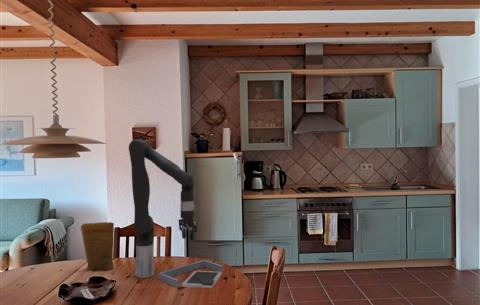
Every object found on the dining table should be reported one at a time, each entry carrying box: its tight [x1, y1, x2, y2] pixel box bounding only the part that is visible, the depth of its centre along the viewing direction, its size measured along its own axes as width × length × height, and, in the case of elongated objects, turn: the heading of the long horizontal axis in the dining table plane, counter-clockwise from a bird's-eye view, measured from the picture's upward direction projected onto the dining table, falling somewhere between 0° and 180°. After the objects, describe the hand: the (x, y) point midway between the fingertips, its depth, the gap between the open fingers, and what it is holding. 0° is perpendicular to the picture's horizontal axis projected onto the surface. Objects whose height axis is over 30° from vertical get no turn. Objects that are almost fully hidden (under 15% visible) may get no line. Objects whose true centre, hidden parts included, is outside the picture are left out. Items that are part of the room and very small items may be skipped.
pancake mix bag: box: [80, 221, 115, 272], centre depth 224 cm, size 7×19×28 cm, turn 83°
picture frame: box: [181, 270, 223, 289], centre depth 203 cm, size 16×3×21 cm
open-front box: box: [158, 259, 224, 288], centre depth 210 cm, size 31×17×4 cm, turn 134°
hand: (188, 239), depth 212 cm, fingers open, 6 cm apart
